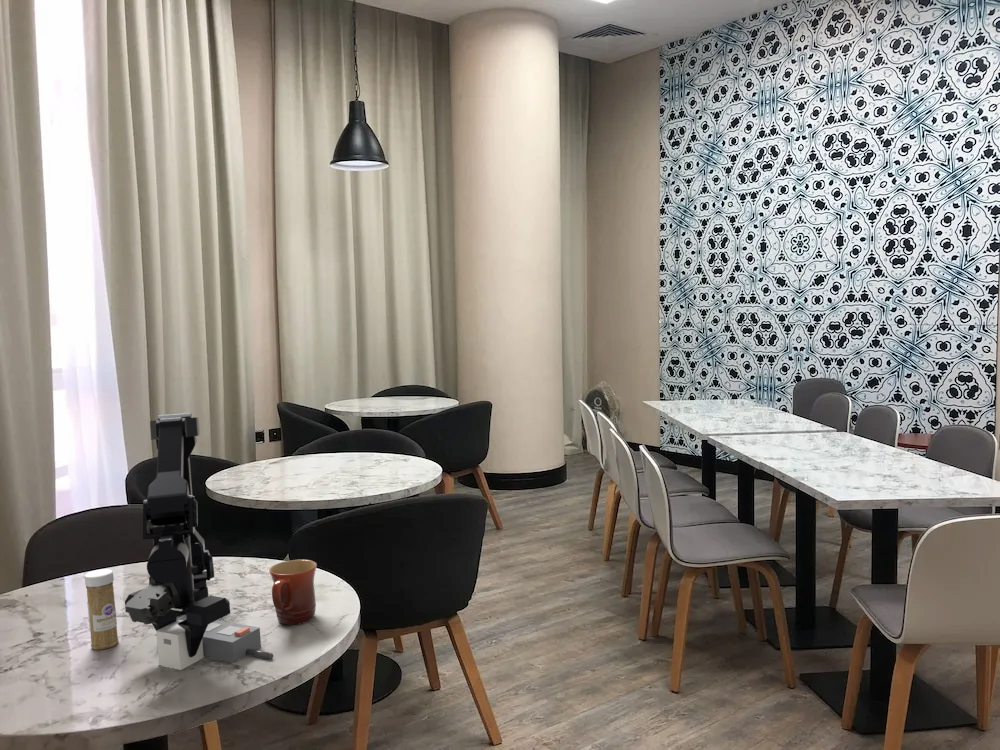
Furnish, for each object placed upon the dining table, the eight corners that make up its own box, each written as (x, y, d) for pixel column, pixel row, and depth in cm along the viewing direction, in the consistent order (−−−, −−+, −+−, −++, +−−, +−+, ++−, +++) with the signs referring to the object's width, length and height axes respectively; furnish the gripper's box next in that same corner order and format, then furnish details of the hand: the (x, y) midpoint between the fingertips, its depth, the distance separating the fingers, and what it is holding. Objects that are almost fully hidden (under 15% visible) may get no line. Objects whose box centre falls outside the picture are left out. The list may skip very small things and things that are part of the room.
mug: (286, 609, 157) (282, 558, 156) (327, 611, 155) (324, 559, 154) (255, 634, 145) (251, 579, 144) (300, 636, 143) (296, 581, 142)
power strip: (157, 646, 141) (155, 624, 141) (186, 632, 147) (184, 611, 147) (259, 667, 131) (257, 643, 131) (285, 651, 137) (284, 628, 137)
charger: (158, 665, 134) (155, 631, 133) (193, 647, 140) (190, 614, 140) (180, 670, 131) (177, 635, 131) (214, 651, 138) (211, 618, 138)
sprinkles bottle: (105, 651, 140) (98, 577, 139) (84, 649, 142) (78, 575, 141) (124, 641, 145) (118, 569, 143) (104, 638, 146) (98, 567, 145)
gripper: (93, 573, 130) (101, 665, 131) (175, 586, 122) (183, 684, 123) (149, 553, 140) (156, 639, 141) (229, 564, 132) (235, 654, 133)
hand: (180, 654), depth 135 cm, fingers closed on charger, 5 cm apart
